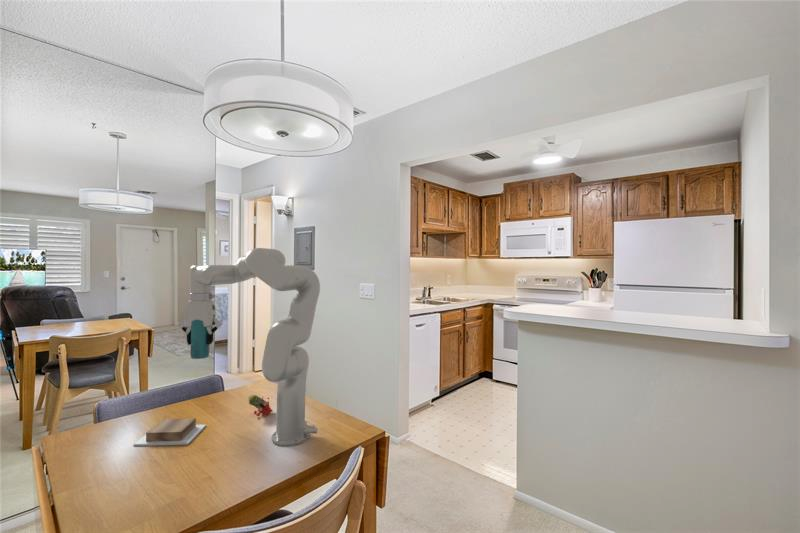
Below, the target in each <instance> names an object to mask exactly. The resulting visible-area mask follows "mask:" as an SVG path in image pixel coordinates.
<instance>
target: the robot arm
mask: <svg viewBox="0 0 800 533" xmlns="http://www.w3.org/2000/svg"><path fill="white" fill-rule="evenodd" d="M255 278H258V279H259V280H260V281H262V282H263V283H264V284H265V285H267V286H268V287H270V288H271V289H273V290H275V291H279V292H288V291H296V293H295V295H294V297H293V298H292V301H291V302H290V306H289V311H288V315H287V318H286V319H282V320H279V321H276V322H274V323H273V325H272V326H271V327H270V329H269V330H268V332H267V336H266V341H265V346H264V351H263V356H262V361H261V372H262V375H263V377H264V378H265V379H266V380H267V381H268V382H271V383H277V387H276V390H277V391H276V423H275V424H276V429H275V431H274V432H273V433H272V435H271V438H270V439H271V442H272V444H275V445H277V446H282V447H290V446H291V447H292V446H295V445H300V444H302V443H304V442H306V441H307V440H308V439H309V437H310V434H318V426H317V427H316V425H313V424H312V425H309V424H307V422H308V421H307V420H306V390H307V389H306V388H307V387H306V386H307V385H306V384H307V376H308V369H309V363H310V359H309V358H310V357H309V355H308V352H307V351H306V350H305V349H306V348H305V349H304V348H303V347H302V346H300V345H303V344H305V343H306V342H308V340H310V337H311V334H312V329H313V324H314V319H315V315H316V309H317V308H316V307H317V304H318V300H319V298H320V297H319V296H320V293H321V282H320V279H319V277H318V275H317V273H315V271H314V270H312V269H311V268H309V267H307V266H305V265H296V264H295V265H294V264H293V265H286V257H285V254H284V253H282V251H280V250H279V249H275V248H264V247H256V248H252V249H250V250H249V251H248V252H247V253H246V255H242V256H241V257H240V258H238V260H237V263H234V264H208V265H205V264H204V265H203V264H202V265H201V264H200V265H199V264H197V265H192V266H190V268H189V294H188V295H189V299H188V301H187V302H186V307H185V314H184V318H183V319H182V320H181V321H180V322H179V323H177V325H178V327H180V329H181V330H182V331H183V332H184V333H185V335H186V343H187V346H191V337H190V336H191V334H190V333H191V322H192V321H193V320H201V321H203V324H204V327H206V328H207V331H208V334H207V344H208V345H209V346H210V345H211V344H213V342H214V333H215V332H216V331H217V330H218V329H219V328H220V327H221V326H222V325H223V323H222V321H221V320H219V319H218V318H217V312H216V304H215V301H214V300H213V299H215V298H216V294H213V292H212V290H213V289H212V288H213V286H219V285H220V286H221V285H233V284H236V283H237V284H238V283H242V282H245V281H248V280H250V279H255Z"/></svg>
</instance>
